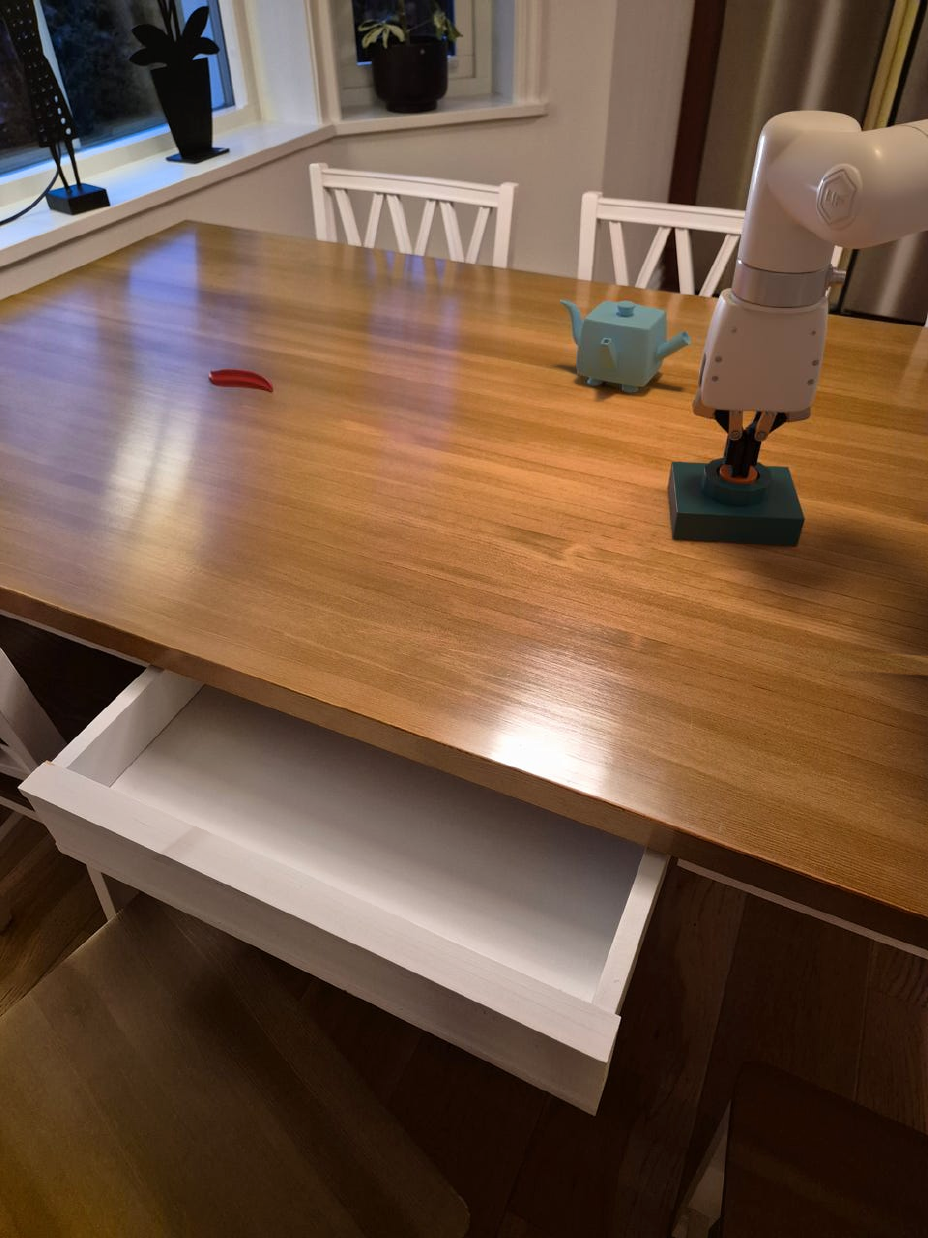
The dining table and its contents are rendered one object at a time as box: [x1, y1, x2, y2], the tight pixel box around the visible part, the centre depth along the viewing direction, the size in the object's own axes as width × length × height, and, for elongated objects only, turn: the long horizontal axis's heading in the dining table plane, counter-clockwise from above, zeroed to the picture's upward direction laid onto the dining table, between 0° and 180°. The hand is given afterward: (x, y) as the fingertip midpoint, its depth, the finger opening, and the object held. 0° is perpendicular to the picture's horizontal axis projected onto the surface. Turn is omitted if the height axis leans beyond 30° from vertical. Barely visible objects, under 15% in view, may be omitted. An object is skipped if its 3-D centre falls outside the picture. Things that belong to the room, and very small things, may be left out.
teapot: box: [559, 299, 692, 393], centre depth 108 cm, size 18×14×10 cm
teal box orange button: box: [667, 457, 806, 547], centre depth 84 cm, size 12×10×5 cm
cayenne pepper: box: [208, 368, 274, 393], centre depth 113 cm, size 12×5×2 cm, turn 50°
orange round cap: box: [719, 465, 757, 484], centre depth 83 cm, size 4×4×2 cm
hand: (737, 470), depth 83 cm, fingers closed
